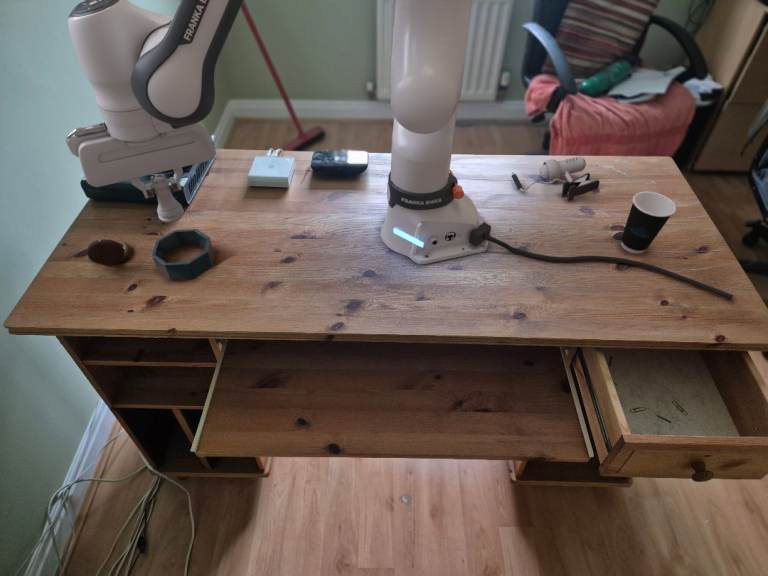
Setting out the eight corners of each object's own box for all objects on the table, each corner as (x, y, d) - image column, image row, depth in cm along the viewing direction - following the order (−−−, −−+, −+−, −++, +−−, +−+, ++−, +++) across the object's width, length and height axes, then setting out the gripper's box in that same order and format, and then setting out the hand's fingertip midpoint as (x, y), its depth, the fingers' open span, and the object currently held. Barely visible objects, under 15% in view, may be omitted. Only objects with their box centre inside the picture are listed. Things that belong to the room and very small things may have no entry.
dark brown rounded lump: (131, 242, 102) (118, 213, 96) (130, 268, 96) (117, 239, 91) (88, 249, 100) (73, 221, 94) (85, 276, 94) (69, 247, 89)
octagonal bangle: (216, 243, 102) (212, 227, 99) (210, 278, 95) (205, 262, 92) (164, 246, 101) (158, 230, 98) (154, 281, 94) (148, 266, 91)
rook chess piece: (190, 212, 91) (177, 174, 85) (173, 226, 88) (158, 188, 82) (170, 205, 92) (157, 168, 86) (153, 219, 89) (138, 181, 83)
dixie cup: (621, 259, 101) (642, 215, 93) (607, 234, 107) (626, 191, 99) (659, 258, 102) (683, 215, 94) (644, 233, 107) (665, 190, 99)
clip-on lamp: (521, 213, 116) (599, 196, 115) (522, 193, 111) (603, 175, 110) (507, 180, 123) (581, 164, 122) (508, 160, 118) (584, 142, 117)
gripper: (62, 141, 71) (100, 218, 81) (206, 112, 78) (226, 186, 87) (59, 122, 75) (97, 198, 85) (197, 95, 81) (217, 169, 91)
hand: (163, 192), depth 86 cm, fingers closed on rook chess piece, 3 cm apart
